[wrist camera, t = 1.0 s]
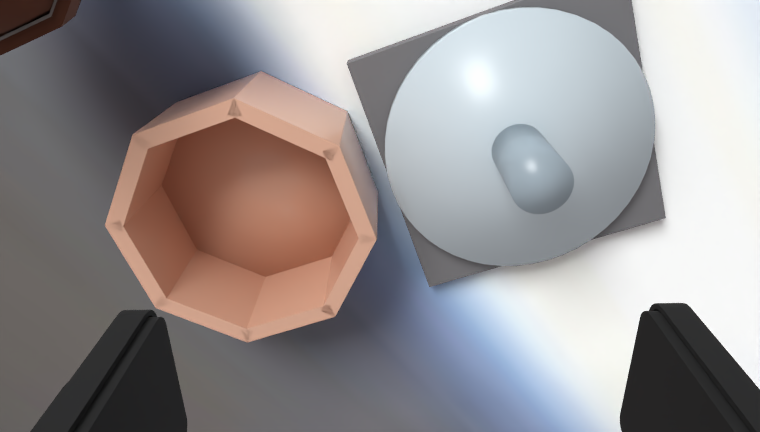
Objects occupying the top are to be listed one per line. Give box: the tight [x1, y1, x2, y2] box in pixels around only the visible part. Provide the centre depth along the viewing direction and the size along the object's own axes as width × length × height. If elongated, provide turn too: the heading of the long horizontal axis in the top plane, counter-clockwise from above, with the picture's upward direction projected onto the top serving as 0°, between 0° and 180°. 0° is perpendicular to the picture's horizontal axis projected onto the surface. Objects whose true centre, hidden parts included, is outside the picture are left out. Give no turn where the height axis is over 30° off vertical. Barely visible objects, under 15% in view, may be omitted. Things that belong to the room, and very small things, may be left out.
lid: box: [385, 7, 655, 266], centre depth 28 cm, size 14×14×6 cm
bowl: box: [105, 71, 378, 342], centre depth 30 cm, size 12×12×6 cm
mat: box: [347, 0, 666, 287], centre depth 31 cm, size 14×14×1 cm
